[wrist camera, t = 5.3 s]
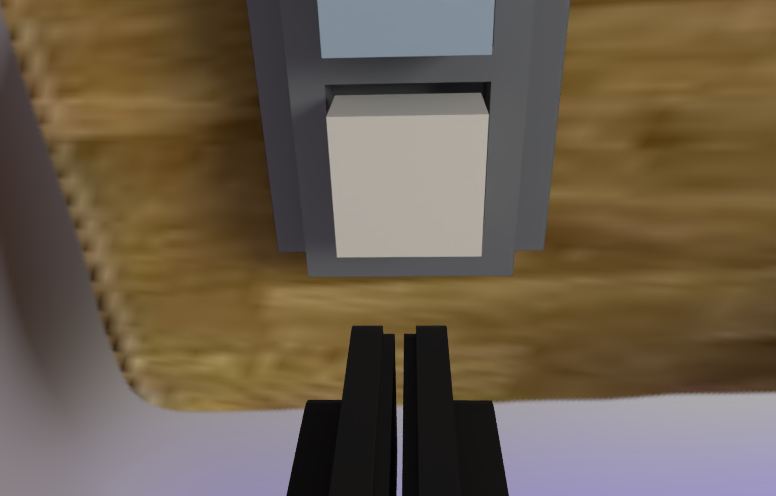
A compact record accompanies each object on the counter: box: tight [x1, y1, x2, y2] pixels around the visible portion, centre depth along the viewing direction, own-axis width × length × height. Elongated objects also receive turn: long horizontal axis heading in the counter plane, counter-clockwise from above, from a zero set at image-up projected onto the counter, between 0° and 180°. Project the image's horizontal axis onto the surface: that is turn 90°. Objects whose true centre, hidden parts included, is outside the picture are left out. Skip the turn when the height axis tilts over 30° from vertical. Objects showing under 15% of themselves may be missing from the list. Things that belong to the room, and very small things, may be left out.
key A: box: [326, 93, 489, 258], centre depth 21 cm, size 5×5×2 cm
